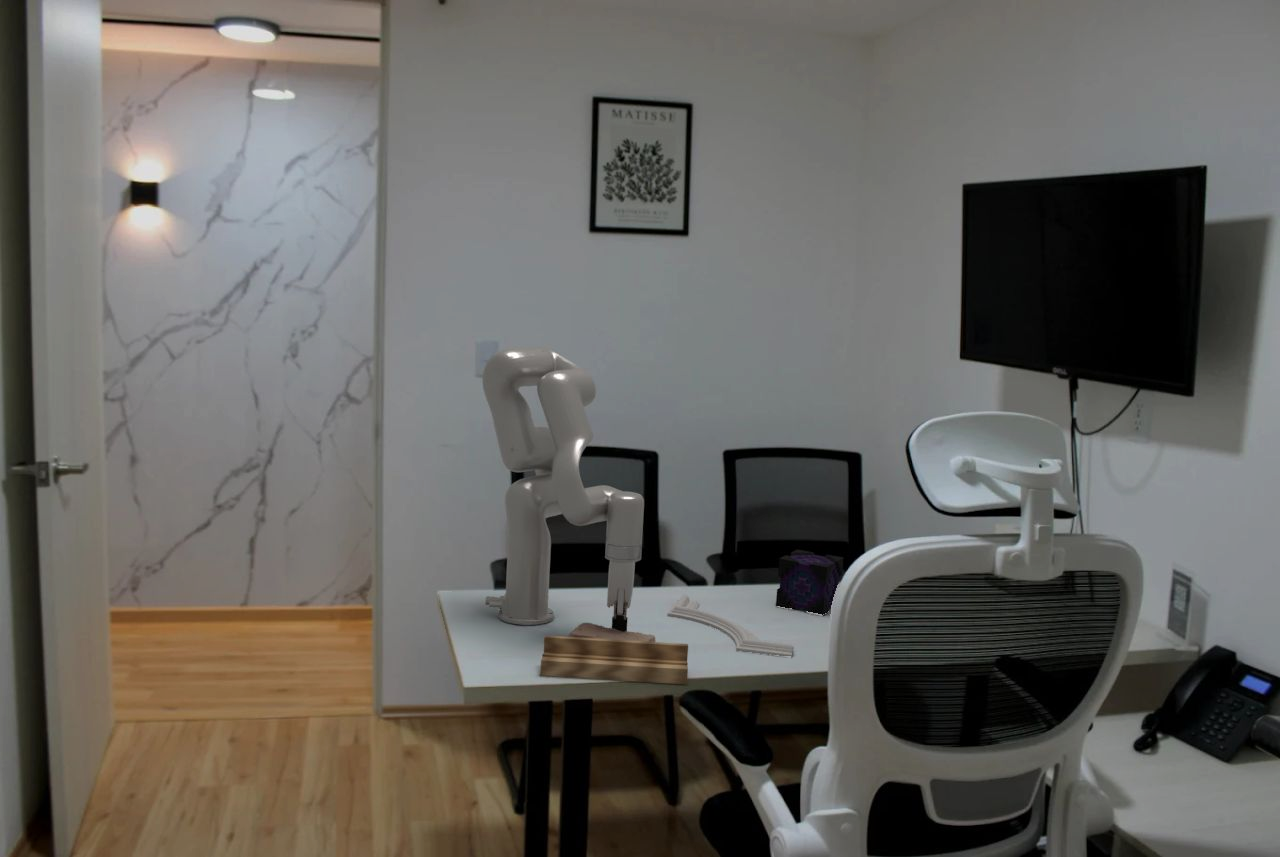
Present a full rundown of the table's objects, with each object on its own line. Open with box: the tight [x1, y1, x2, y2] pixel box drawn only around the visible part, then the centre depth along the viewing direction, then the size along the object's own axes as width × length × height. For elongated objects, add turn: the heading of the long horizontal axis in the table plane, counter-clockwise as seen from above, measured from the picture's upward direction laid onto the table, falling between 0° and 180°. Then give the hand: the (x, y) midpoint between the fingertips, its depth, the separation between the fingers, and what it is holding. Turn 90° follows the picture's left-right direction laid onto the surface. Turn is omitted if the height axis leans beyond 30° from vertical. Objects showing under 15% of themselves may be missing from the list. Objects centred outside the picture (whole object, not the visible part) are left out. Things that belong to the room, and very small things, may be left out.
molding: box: [666, 594, 795, 657], centre depth 248 cm, size 42×12×3 cm, turn 33°
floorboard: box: [540, 634, 689, 685], centre depth 217 cm, size 28×10×6 cm, turn 89°
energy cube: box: [775, 549, 844, 615], centre depth 270 cm, size 12×12×12 cm
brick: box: [568, 622, 656, 642], centre depth 228 cm, size 17×8×5 cm, turn 72°
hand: (618, 636), depth 234 cm, fingers closed
